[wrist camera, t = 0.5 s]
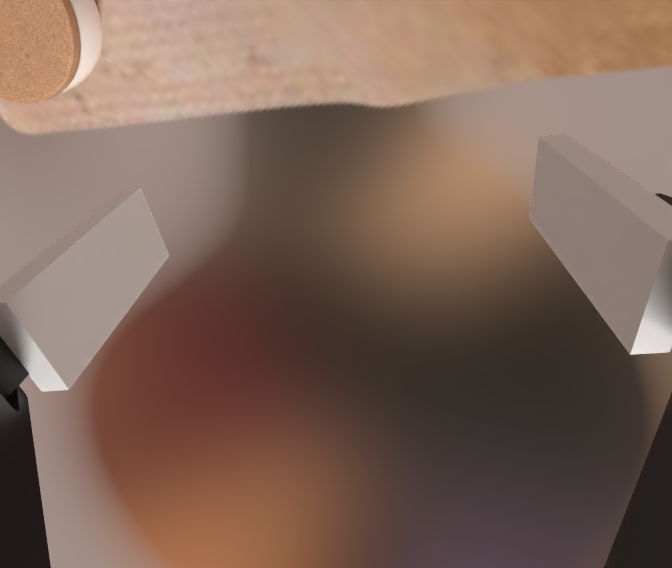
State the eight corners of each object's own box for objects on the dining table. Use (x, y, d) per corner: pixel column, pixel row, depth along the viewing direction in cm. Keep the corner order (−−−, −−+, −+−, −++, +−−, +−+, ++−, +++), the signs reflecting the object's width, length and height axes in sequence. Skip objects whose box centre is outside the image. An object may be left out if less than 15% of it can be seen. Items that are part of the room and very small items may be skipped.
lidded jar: (64, 108, 39) (-11, 134, 31) (-38, -19, 34) (-157, -25, 26) (152, 47, 36) (93, 60, 28) (54, -102, 31) (-51, -137, 23)
